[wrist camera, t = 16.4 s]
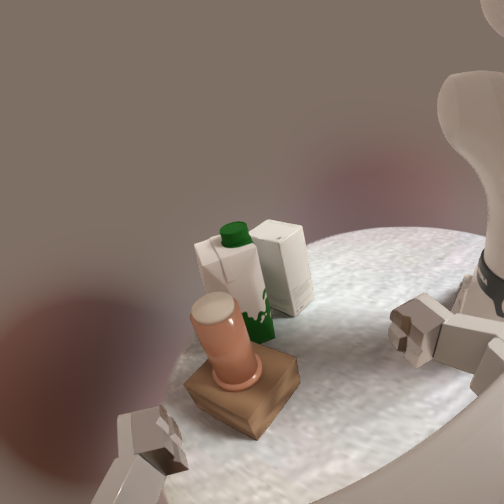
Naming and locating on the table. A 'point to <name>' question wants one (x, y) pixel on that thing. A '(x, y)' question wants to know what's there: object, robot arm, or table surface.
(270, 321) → the milk carton
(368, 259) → the table surface
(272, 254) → the skincare box
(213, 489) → the table surface
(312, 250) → the table surface
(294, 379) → the block
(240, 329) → the canister
